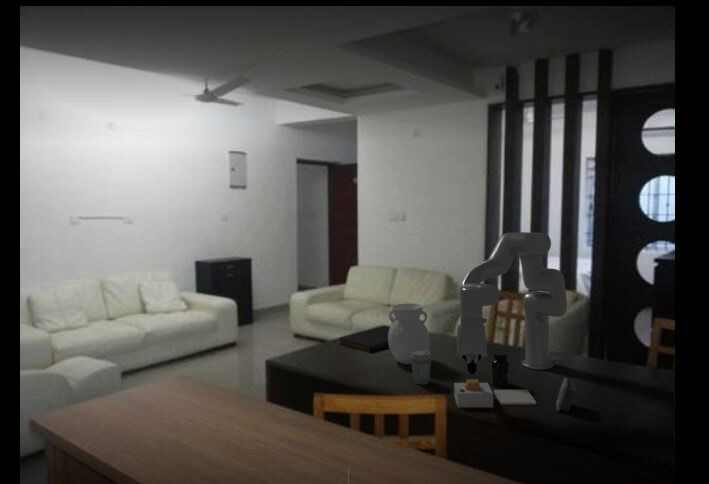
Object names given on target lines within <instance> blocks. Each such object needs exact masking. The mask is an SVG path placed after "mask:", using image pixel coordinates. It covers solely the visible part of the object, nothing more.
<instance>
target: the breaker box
mask: <svg viewBox="0 0 709 484" xmlns="http://www.w3.org/2000/svg"><path fill="white" fill-rule="evenodd" d="M479 383H480V390H475V391H467V390H466V382H454V383H453V395H454V396H453V397H454V399H455V403H456V406H458V407H457V408H494V391H492V388H491V387H490V384H489V383H488V382H479Z"/></svg>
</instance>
